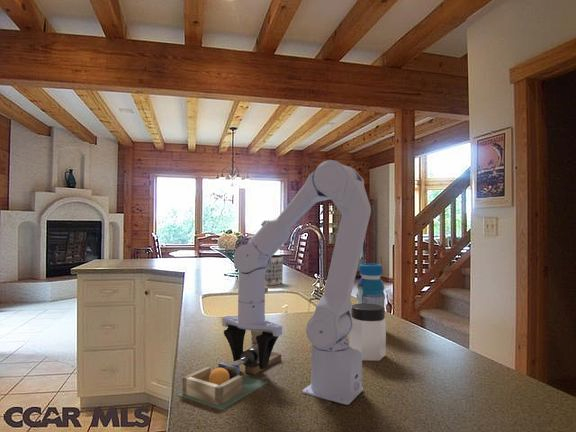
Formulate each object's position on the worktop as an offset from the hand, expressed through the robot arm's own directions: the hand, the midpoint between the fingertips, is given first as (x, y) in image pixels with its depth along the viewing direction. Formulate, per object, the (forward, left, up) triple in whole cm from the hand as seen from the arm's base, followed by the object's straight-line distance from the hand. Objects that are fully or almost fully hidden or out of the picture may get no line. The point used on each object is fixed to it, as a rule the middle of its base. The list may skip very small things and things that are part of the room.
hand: (250, 364), depth 85 cm
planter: (+67, -105, -2) cm, 125 cm away
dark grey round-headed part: (0, +2, -1) cm, 3 cm away
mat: (0, +9, -2) cm, 9 cm away
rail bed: (0, -5, -2) cm, 5 cm away
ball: (0, +10, 0) cm, 10 cm away
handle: (+12, -19, -2) cm, 23 cm away
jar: (-17, -25, -2) cm, 31 cm away
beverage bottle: (-10, -47, -2) cm, 48 cm away
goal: (0, +12, -2) cm, 12 cm away
